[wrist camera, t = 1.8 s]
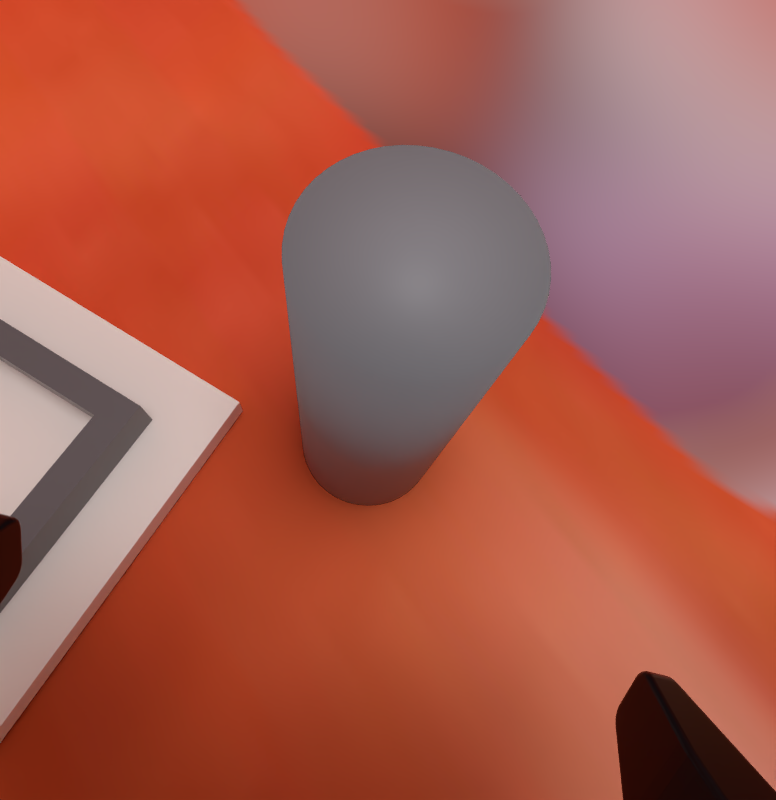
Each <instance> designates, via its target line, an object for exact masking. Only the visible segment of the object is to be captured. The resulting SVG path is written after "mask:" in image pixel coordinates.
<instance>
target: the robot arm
mask: <svg viewBox="0 0 776 800" xmlns="http://www.w3.org/2000/svg"><path fill="white" fill-rule="evenodd" d="M21 566H22V540H21V524H20V522H19V520H18V519H17V518H15V517H12V516H8V515H4V514H0V604H1V602H2V601H3V599H4V598H5V596H6V595H7V593H8V592H9V590H10V589H11V587H12V586H13V584H14V583H15V581H16V579H17V578H18V575H19V573H20V570H21ZM616 734H617V744H618V753H619V763H620V773H621V783H622V793H623V800H776V791H775V790H774V789H773V788H772V787H771V786H770V785H769V784H768V782H767V781H766V780H765V779H764V778H763V777H762V776H761V775H760V774H759V773H758V771H757V770H756V769H755V768H754V767H753V766H752V765H751V764H750V763H749V762H748V761H747V759H746V758H745V757H744V756H743V755H742V754H741V753H740V752H739V751H738V750H737V748H736V747H735V746H734V745H733V744H732V743H731V742H730V741H729V740H728V739H727V737H726V736H725V735H724V734H723V733H722V732H721V731H720V730H719V729H718V728H717V726H716V725H715V724H714V723H713V722H712V721H711V720H710V719H709V718H708V717H707V715H706V714H705V713H704V712H703V711H702V710H701V709H700V708H699V707H698V706H697V704H696V703H695V702H694V701H693V700H692V699H691V698H690V697H689V696H688V695H687V694H686V692H685V691H684V690H683V689H682V688H681V687H680V686H679V685H678V684H677V683H676V682H675V681H674V680H673V679H672V678H670V677H668V676H664V675H660V674H656V673H652V672H648V671H643V672H641V673H639V674H638V675H637V677H636V678H635V680H634V682H633V683H632V685H631V687H630V688H629V690H628V692H627V693H626V695H625V697H624V698H623V700H622V702H621V703H620V705H619V707H618V710H617V714H616Z"/></svg>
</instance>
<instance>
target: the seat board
mask: <svg viewBox="0 0 776 800" xmlns="http://www.w3.org/2000/svg"><path fill="white" fill-rule="evenodd" d="M242 411H243V410H242V408H241V405H240V403H239V402H238V401H236V400H235V399H233V398H232V397H230V396H228V395H227V394H225V393H223V392H222V391H220V390H218V389H217V388H215V387H214V386H212V385H210V384H209V383H207V382H205V381H204V380H202V379H200V378H199V377H197V376H195V375H194V374H192V373H191V372H189V371H187V370H186V369H184V368H182V367H181V366H179V365H177V364H176V363H174V362H173V361H171V360H169V359H168V358H166V357H164V356H163V355H161V354H159V353H158V352H156V351H154V350H153V349H151V348H150V347H148V346H146V345H145V344H143V343H141V342H140V341H138V340H136V339H135V338H133V337H132V336H130V335H128V334H127V333H125V332H123V331H122V330H120V329H118V328H117V327H115V326H113V325H112V324H110V323H109V322H107V321H105V320H104V319H102V318H100V317H99V316H97V315H95V314H94V313H92V312H91V311H89V310H87V309H86V308H84V307H82V306H81V305H79V304H77V303H76V302H74V301H72V300H71V299H69V298H68V297H66V296H64V295H63V294H61V293H59V292H58V291H56V290H54V289H53V288H51V287H50V286H48V285H46V284H45V283H43V282H41V281H40V280H38V279H36V278H35V277H33V276H31V275H30V274H28V273H27V272H25V271H23V270H22V269H20V268H18V267H17V266H15V265H13V264H12V263H10V262H9V261H7V260H5V259H4V258H2V257H0V514H4V515H8V516H12V517H15V518H17V519H18V520H19V522H20V524H21V540H22V566H21V570H20V573H19V575H18V578H17V579H16V581H15V583H14V584H13V586H12V587H11V589H10V590H9V592H8V593H7V595H6V596H5V598H4V599H3V601H2V602H1V604H0V743H1V741H2V740H3V739H4V737H5V736H6V735H7V733H8V732H9V730H10V729H11V728H12V726H13V725H14V724H15V722H16V721H17V719H18V718H19V717H20V715H21V714H22V713H23V711H24V710H25V709H26V707H27V706H28V704H29V703H30V702H31V700H32V699H33V698H34V696H35V695H36V693H37V692H38V691H39V689H40V688H41V687H42V685H43V684H44V683H45V681H46V680H47V678H48V677H49V676H50V674H51V673H52V672H53V670H54V669H55V667H56V666H57V665H58V663H59V662H60V661H61V659H62V658H63V656H64V655H65V654H66V652H67V651H68V650H69V648H70V647H71V646H72V644H73V643H74V641H75V640H76V639H77V637H78V636H79V635H80V633H81V632H82V630H83V629H84V628H85V626H86V625H87V624H88V622H89V621H90V620H91V618H92V617H93V615H94V614H95V613H96V611H97V610H98V609H99V607H100V606H101V604H102V603H103V602H104V600H105V599H106V598H107V596H108V595H109V593H110V592H111V591H112V589H113V588H114V587H115V585H116V584H117V583H118V581H119V580H120V578H121V577H122V576H123V574H124V573H125V572H126V570H127V569H128V567H129V566H130V565H131V563H132V562H133V561H134V559H135V558H136V557H137V555H138V554H139V552H140V551H141V550H142V548H143V547H144V546H145V544H146V543H147V541H148V540H149V539H150V537H151V536H152V535H153V533H154V532H155V530H156V529H157V528H158V526H159V525H160V524H161V522H162V521H163V520H164V518H165V517H166V515H167V514H168V513H169V511H170V510H171V509H172V507H173V506H174V504H175V503H176V502H177V500H178V499H179V498H180V496H181V495H182V494H183V492H184V491H185V489H186V488H187V487H188V485H189V484H190V483H191V481H192V480H193V478H194V477H195V476H196V474H197V473H198V472H199V470H200V469H201V467H202V466H203V465H204V463H205V462H206V461H207V459H208V458H209V457H210V455H211V454H212V452H213V451H214V450H215V448H216V447H217V446H218V444H219V443H220V441H221V440H222V439H223V437H224V436H225V435H226V433H227V432H228V431H229V429H230V428H231V426H232V425H233V424H234V422H235V421H236V420H237V418H238V417H239V415H240V414H241V413H242Z"/></svg>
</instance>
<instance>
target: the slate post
mask: <svg viewBox="0 0 776 800" xmlns="http://www.w3.org/2000/svg"><path fill="white" fill-rule="evenodd" d="M282 266H283V275H284V284H285V293H286V301H287V310H288V319H289V328H290V337H291V346H292V355H293V364H294V373H295V382H296V390H297V399H298V408H299V417H300V426H301V435H302V444H303V451H304V456H305V460H306V463H307V465H308V468H309V470H310V472H311V473H312V475H313V477H314V478H315V479H316V481H317V482H318V483H319V484H320V485H321V486H322V487H323V488H324V489H325V490H326V491H328V492H329V493H330V494H332V495H333V496H335V497H337V498H339V499H341V500H343V501H346V502H349V503H353V504H357V505H379V504H384V503H387V502H391V501H393V500H395V499H397V498H400V497H401V496H403V495H404V494H406V493H407V492H408V491H410V490H411V489H412V488H413V487H414V486H415V485H416V484H417V483H418V482H419V480H420V479H421V478H422V476H423V475H424V474H425V472H426V471H427V470H428V469H429V467H430V466H431V465H432V463H433V462H434V461H435V459H436V458H437V457H438V455H439V454H440V453H441V451H442V450H443V449H444V447H445V446H446V445H447V444H448V442H449V441H450V440H451V438H452V437H453V436H454V434H455V433H456V432H457V430H458V429H459V428H460V426H461V425H462V424H463V422H464V421H465V420H466V419H467V417H468V416H469V415H470V413H471V412H472V411H473V409H474V408H475V407H476V405H477V404H478V403H479V401H480V400H481V399H482V398H483V396H484V395H485V394H486V392H487V391H488V390H489V388H490V387H491V386H492V384H493V383H494V382H495V380H496V379H497V378H498V376H499V375H500V374H501V373H502V371H503V370H504V369H505V367H506V366H507V365H508V363H509V362H510V361H511V359H512V358H513V357H514V355H515V354H516V353H517V351H518V350H519V349H520V348H521V346H522V345H523V344H524V342H525V341H526V340H527V338H528V337H529V336H530V334H531V333H532V331H533V330H534V328H535V327H536V325H537V324H538V322H539V320H540V318H541V316H542V313H543V311H544V309H545V306H546V302H547V299H548V296H549V290H550V282H551V262H550V256H549V250H548V246H547V243H546V240H545V237H544V234H543V231H542V229H541V227H540V225H539V223H538V220H537V219H536V217H535V216H534V214H533V212H532V211H531V209H530V208H529V206H528V205H527V204H526V202H525V201H524V200H523V199H522V197H521V196H520V195H519V194H518V193H517V192H516V191H515V190H514V189H513V188H512V187H511V186H510V185H509V184H508V183H507V182H505V181H504V180H503V179H502V178H500V177H499V176H498V175H497V174H495V173H493V172H492V171H491V170H489V169H487V168H486V167H484V166H483V165H481V164H479V163H477V162H475V161H473V160H471V159H468V158H466V157H464V156H461V155H458V154H455V153H453V152H450V151H445V150H441V149H437V148H432V147H425V146H415V145H414V146H413V145H396V146H385V147H380V148H374V149H369V150H366V151H363V152H360V153H357V154H354V155H352V156H349V157H347V158H345V159H343V160H341V161H339V162H337V163H336V164H334V165H332V166H331V167H329V168H327V169H326V170H325V171H324V172H322V173H321V174H320V175H319V176H317V177H316V178H315V179H314V180H313V181H312V182H311V183H310V184H309V185H308V186H307V188H306V189H305V190H304V191H303V193H302V194H301V195H300V197H299V198H298V200H297V201H296V203H295V205H294V207H293V209H292V211H291V213H290V215H289V218H288V221H287V224H286V227H285V230H284V236H283V243H282Z"/></svg>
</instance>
